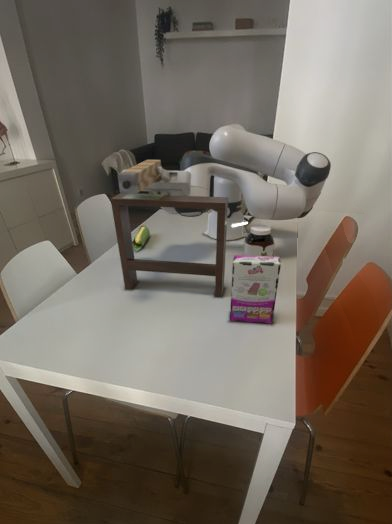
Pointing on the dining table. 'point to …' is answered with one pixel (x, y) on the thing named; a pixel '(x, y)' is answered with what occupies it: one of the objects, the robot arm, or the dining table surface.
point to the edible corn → (140, 237)
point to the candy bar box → (254, 288)
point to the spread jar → (259, 241)
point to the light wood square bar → (138, 177)
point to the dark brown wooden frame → (134, 265)
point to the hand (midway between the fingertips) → (148, 169)
